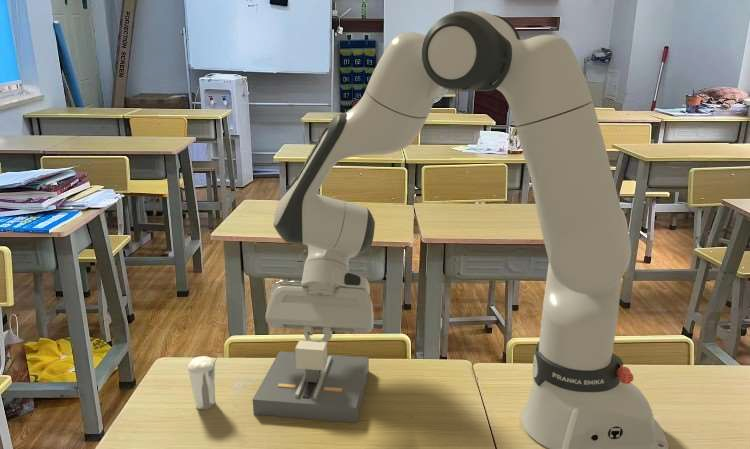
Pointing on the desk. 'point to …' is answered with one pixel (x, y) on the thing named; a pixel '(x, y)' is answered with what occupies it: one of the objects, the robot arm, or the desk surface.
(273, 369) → the fader console
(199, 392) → the milkshake
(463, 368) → the desk surface
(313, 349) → the fader tab
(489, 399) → the desk surface
